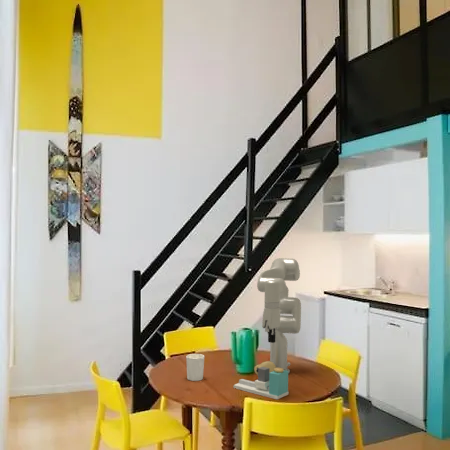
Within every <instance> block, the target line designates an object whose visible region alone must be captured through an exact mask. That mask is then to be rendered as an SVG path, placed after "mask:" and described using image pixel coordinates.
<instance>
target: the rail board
mask: <svg viewBox="0 0 450 450" xmlns="http://www.w3.org/2000/svg"><path fill="white" fill-rule="evenodd" d="M235 388H236V390H239V391H243V392H248V393H251V394H255V395H259V396H263V397H266V398H270V399H274V400H280V399H281V398H283V397H286V396H288V395H289V374H288V371H287V370H284V372H282V373H277V372H275V371H273V372H270V373H269V386H267V390H264V389H260V388H256V385H255V381H252V380H248V379H244V378H241V379H238V383H235V384H233V389H235Z"/></svg>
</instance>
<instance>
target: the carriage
mask: <svg viewBox="0 0 450 450" xmlns="http://www.w3.org/2000/svg"><path fill="white" fill-rule="evenodd" d="M269 370H270V368H266V367H261V368H258V375H257V379H256V380H254V382H255V385H256V388H260V389H264V390H267V386H269Z"/></svg>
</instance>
